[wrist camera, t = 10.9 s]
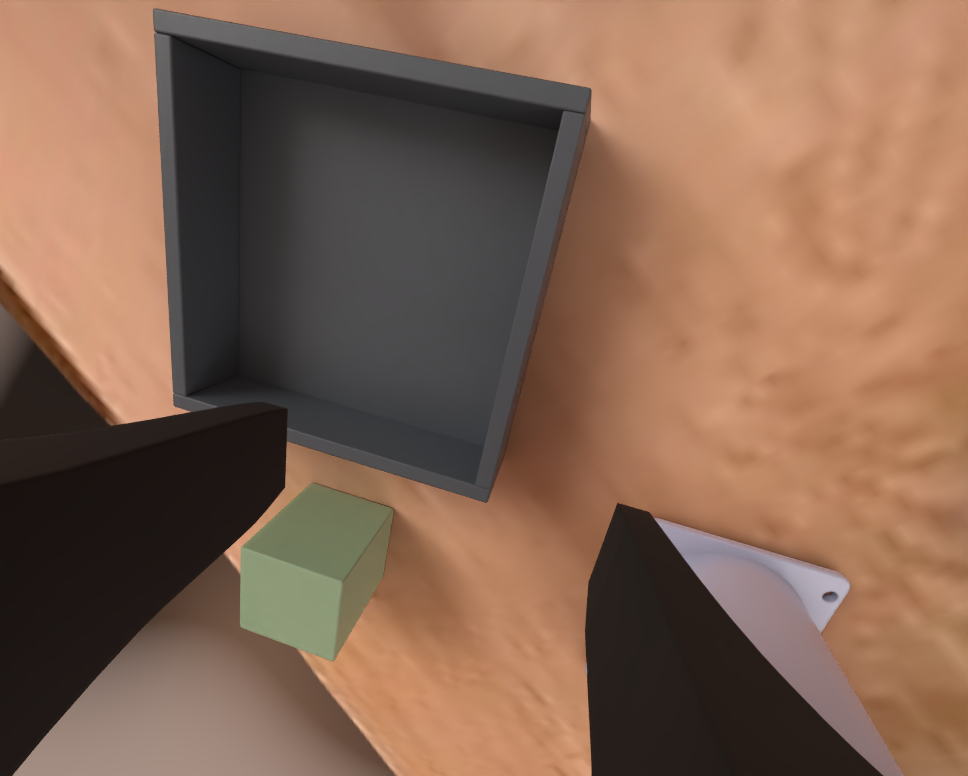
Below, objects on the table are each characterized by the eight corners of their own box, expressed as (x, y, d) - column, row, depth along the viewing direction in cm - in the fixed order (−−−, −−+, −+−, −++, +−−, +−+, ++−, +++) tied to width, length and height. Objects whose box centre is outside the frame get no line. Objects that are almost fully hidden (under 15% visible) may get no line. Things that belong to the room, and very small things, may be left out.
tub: (502, 460, 20) (487, 504, 16) (234, 380, 21) (173, 406, 18) (590, 118, 15) (592, 87, 12) (234, 50, 16) (151, 7, 13)
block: (383, 576, 23) (333, 662, 19) (306, 550, 24) (239, 627, 19) (394, 508, 22) (343, 583, 17) (311, 481, 22) (239, 547, 18)
